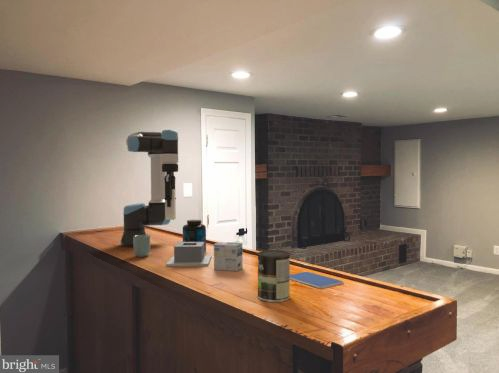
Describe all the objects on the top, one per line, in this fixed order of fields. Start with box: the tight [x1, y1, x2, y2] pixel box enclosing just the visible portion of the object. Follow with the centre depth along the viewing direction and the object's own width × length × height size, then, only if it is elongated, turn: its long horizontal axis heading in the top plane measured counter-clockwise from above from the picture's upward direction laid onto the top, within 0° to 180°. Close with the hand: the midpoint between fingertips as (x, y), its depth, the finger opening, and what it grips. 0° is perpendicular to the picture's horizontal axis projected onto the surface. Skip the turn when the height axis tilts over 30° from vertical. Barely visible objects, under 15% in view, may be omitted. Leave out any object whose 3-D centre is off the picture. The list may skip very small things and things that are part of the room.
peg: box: [165, 188, 177, 221], centre depth 180 cm, size 4×4×14 cm
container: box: [182, 219, 207, 253], centre depth 199 cm, size 12×12×16 cm
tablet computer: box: [290, 271, 344, 290], centre depth 143 cm, size 19×13×1 cm, turn 36°
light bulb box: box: [213, 241, 244, 272], centre depth 161 cm, size 11×7×11 cm, turn 71°
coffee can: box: [257, 249, 291, 303], centre depth 122 cm, size 10×10×14 cm
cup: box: [133, 234, 151, 258], centre depth 187 cm, size 8×8×10 cm
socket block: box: [165, 241, 212, 267], centre depth 175 cm, size 18×18×8 cm
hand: (170, 213), depth 180 cm, fingers closed on peg, 4 cm apart
